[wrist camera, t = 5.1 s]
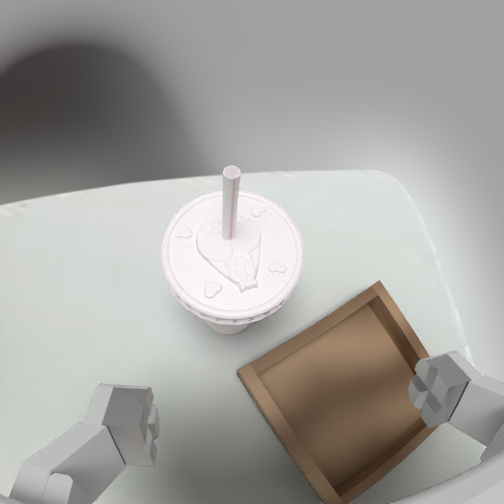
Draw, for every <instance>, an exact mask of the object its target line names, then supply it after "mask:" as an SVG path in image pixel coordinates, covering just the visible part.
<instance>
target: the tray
mask: <svg viewBox="0 0 504 504" xmlns="http://www.w3.org/2000/svg"><path fill="white" fill-rule="evenodd" d="M426 358H430V356H429V354H428V353H427V351H426V350H425V348H424V346H423V345H422V343H421V342H420V340H419V339H418V337H417V335H416V334H415V332H414V331H413V329H412V328H411V326H410V325H409V323H408V321H407V320H406V318H405V317H404V315H403V314H402V312H401V311H400V309H399V308H398V306H397V305H396V303H395V302H394V300H393V299H392V298H391V296H390V295H389V293H388V292H387V290H386V289H385V287H384V286H383V284H382V283H381V282H380V280H379V281H378V282H376V283H375V284H373V285H372V286H371V287H369V288H368V289H366V290H365V291H363V292H362V293H361V294H359V295H358V296H356V297H355V298H353V299H352V300H350V301H349V302H347V303H346V304H345V305H343V306H342V307H340V308H339V309H337V310H336V311H334V312H333V313H331V314H329V315H328V316H326V317H325V318H323V319H322V320H320V321H319V322H317V323H316V324H314V325H313V326H311V327H309V328H308V329H306V330H305V331H303V332H301V333H300V334H298V335H297V336H295V337H293V338H292V339H290V340H289V341H287V342H285V343H284V344H282V345H280V346H279V347H277V348H275V349H274V350H272V351H270V352H269V353H267V354H265V355H264V356H262V357H260V358H258V359H257V360H255V361H253V362H251V363H250V364H248V365H246V366H244V367H243V368H241V369H239V370H238V371H237V375H238V377H239V378H240V380H241V381H242V383H243V385H244V386H245V388H246V389H247V391H248V393H249V394H250V396H251V397H252V399H253V401H254V402H255V404H256V405H257V407H258V408H259V410H260V412H261V413H262V415H263V416H264V418H265V419H266V421H267V422H268V424H269V425H270V427H271V428H272V430H273V431H274V433H275V434H276V436H277V437H278V439H279V440H280V442H281V443H282V445H283V446H284V448H285V449H286V451H287V452H288V454H289V455H290V456H291V458H292V459H293V461H294V462H295V464H296V465H297V466H298V468H299V469H300V471H301V472H302V473H303V475H304V476H305V478H306V479H307V480H308V482H309V483H310V485H311V486H312V487H313V489H314V490H315V491H316V493H317V494H318V495H319V497H320V498H321V499H322V501H323V502H324V503H325V504H348V503H349V502H351V501H352V500H353V499H355V498H356V497H357V496H359V495H360V494H362V493H363V492H364V491H366V490H367V489H368V488H370V487H371V486H372V485H373V484H375V483H376V482H377V481H379V480H380V479H381V478H382V477H383V476H385V475H386V474H387V473H388V472H390V471H391V470H392V469H393V468H394V467H395V466H397V465H398V464H399V463H400V462H401V461H402V460H404V459H405V458H406V457H407V456H408V455H409V454H410V453H411V452H412V451H413V450H415V449H416V448H417V447H418V446H419V445H420V444H421V443H422V442H423V441H424V440H425V439H426V438H427V437H428V436H429V435H430V434H431V433H432V432H433V431H434V430H435V429H436V428H437V427H438V426H439V425H438V426H435V427H432V428H428V427H427V425H426V424H425V422H424V421H423V419H422V418H421V416H420V409H418V408H416V407H414V406H413V404H412V403H411V401H410V398H409V392H408V387H409V384H410V381H411V379H412V378H413V377H414V376H415V375H416V372H415V367H416V364H417V363H418V362H419V361H420V360H421V359H426Z"/></svg>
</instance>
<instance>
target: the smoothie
mask: <svg viewBox="0 0 504 504" xmlns="http://www.w3.org/2000/svg"><path fill="white" fill-rule="evenodd" d="M239 182H240V169H239V168H237V167H236V166H228V167H226V168H225V169H224V171H223V190H219V191H214V192H210V193H206V194H204V195H201V196H199V197H197V198H195V199H193V200H191V201H190V202H188V203H187V204H186V205H184V206H183V207H182V208H181V209H180V210H179V211H178V212H177V213H176V214H175V215H174V216H173V218H172V219H171V221H170V222H169V224H168V226H167V228H166V230H165V232H164V235H163V239H162V244H161V262H162V267H163V271H164V277H165V280H166V282H167V284H168V286H169V288H170V290H171V292H172V294H173V295H174V297H175V298H176V299H177V300H178V301H179V302H180V303H181V304H182V306H183V307H184V308H185V309H187V310H189V311H190V312H192V313H193V314H195V315H196V316H198V317H200V318H201V319H203V320H204V321H205V322H206V324H207V325H208V326H209V327H210V328H211V329H213V330H214V331H216V332H218V333H221V334H226V335H231V334H236V333H239V332H241V331H243V330H244V329H246V328H247V327H248V326H249V325H250V324H251V323H253V322H256V321H260V320H261V319H263V318H265V317H267V316H269V315H271V314H273V313H274V312H276V311H277V310H278V309H279V308H280V307H281V306H282V305H283V304H284V303H285V302H286V301H287V300H288V299H289V298H290V296H291V295H292V293H293V291H294V289H295V288H296V286H297V284H298V280H299V278H300V275H301V272H302V268H303V263H304V248H303V242H302V238H301V235H300V233H299V230H298V228H297V226H296V225H295V223H294V221H293V220H292V219H291V217H290V216H289V215H288V214H287V213H286V212H285V211H284V210H283V209H282V208H281V207H280V206H279V205H277V204H276V203H274V202H273V201H271V200H270V199H268V198H266V197H264V196H261V195H259V194H256V193H253V192H249V191H244V190H239Z"/></svg>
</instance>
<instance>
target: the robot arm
mask: <svg viewBox="0 0 504 504" xmlns="http://www.w3.org/2000/svg"><path fill="white" fill-rule="evenodd" d="M415 372H416V375H415V376H414V377H413V378H412V379H411V381H410V384H409V387H408V392H409V398H410V401H411V403H412V404H413V406H414V407H416V408H418V409H420V416H421V418H422V419H423V421H424V422H425V424H426V425H427V427H428V428H432V427H435V426H438V425H441V424H444V423H446V422H448V423H449V424H451V425H452V426H454V427H455V428H457V429H459V430H460V431H462V432H464V433H465V434H467V435H468V436H470V437H472V438H473V439H475V440H477V441H478V442H480V443H482V444H483V445H485V446H487V448H486V449H485V451H484V452H483V454H482V455H481V458H480V459H481V461H482V463H480V464H478V465H476V466H474V467H472V468H470V469H468V470H467V471H465V472H463V473H461V474H459V475H457V476H455V477H452V478H450V479H448V480H446V481H444V482H442V483H439V484H437V485H435V486H433V487H430V488H428V489H425V490H423V491H421V492H418V493H416V494H413V495H410V496H408V497H405V498H402V499H400V500H397V501H394V502H391V503H388V504H504V382H501V381H499V380H496V379H493V378H491V377H488V376H482V375H480V374H479V372H478V371H477V370H476V369H475V368H474V367H473V366H472V365H471V364H470V363H469V362H468V361H467V360H466V359H465V358H464V357H463V356H462V355H461V354H460V353H459V352H457V351H451V352H448V353H444V354H441V355H437V356H433V357H430V358H426V359H421V360H420V361H419V362H418V363H417V364H416V367H415ZM152 402H153V393H152V390H151V388H150V387H145V386H129V385H111V384H102V383H100V384H99V385H98V386H97V388H96V390H95V393H94V396H93V398H92V401H91V403H90V406H89V409H88V412H87V414H86V417H85V420H84V423H77V424H76V425H75V426H73V427H72V428H70V429H69V430H68V431H66V432H65V433H63V434H62V435H61V436H59V437H58V438H57V439H55V440H54V441H52V442H51V443H49V444H48V445H47V446H45V447H44V448H42V449H41V450H40V451H38V452H37V453H35V454H34V455H32V456H31V457H30V458H28V459H27V460H25V461H24V462H22V465H21V467H20V470H19V472H18V475H17V477H16V480H15V483H14V485H13V488H12V491H11V493H10V496H9V497H6V496H4V495H2V494H0V504H92V503H93V502H94V501H95V500H96V499H97V498H98V497H99V496H100V495H101V494H102V493H103V491H104V490H105V489H106V488H107V487H108V486H109V485H110V484H111V483H112V482H113V480H114V479H115V478H116V477H117V476H118V475H119V474H120V473H121V472H122V470H123V469H124V468H125V467H126V465H133V466H152V467H154V466H155V458H156V450H157V448H156V445H155V442H154V440H155V439H157V438H158V433H159V418H158V412H157V408H156V407H155V406H154V405H153V404H152Z"/></svg>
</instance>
